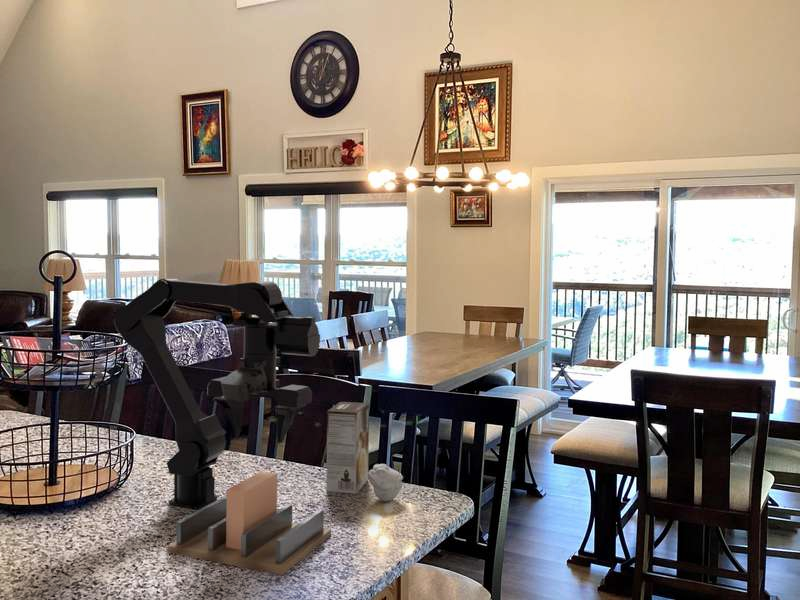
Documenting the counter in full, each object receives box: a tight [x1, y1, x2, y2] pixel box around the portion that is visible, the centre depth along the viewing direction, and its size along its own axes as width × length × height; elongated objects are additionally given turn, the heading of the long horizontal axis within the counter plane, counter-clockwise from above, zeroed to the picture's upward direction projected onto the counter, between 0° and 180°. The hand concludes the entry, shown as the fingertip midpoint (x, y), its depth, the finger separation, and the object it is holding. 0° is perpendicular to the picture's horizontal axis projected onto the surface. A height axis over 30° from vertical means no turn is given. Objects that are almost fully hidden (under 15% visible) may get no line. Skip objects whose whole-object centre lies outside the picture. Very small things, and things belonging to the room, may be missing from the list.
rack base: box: [166, 522, 332, 576], centre depth 114 cm, size 20×16×1 cm
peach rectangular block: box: [226, 471, 278, 550], centre depth 114 cm, size 3×10×9 cm, turn 160°
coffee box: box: [325, 401, 370, 495], centre depth 143 cm, size 9×6×16 cm
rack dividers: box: [175, 494, 325, 564], centre depth 114 cm, size 18×14×4 cm
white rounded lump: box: [367, 463, 404, 502], centre depth 135 cm, size 6×7×7 cm
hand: (258, 439), depth 128 cm, fingers open, 9 cm apart
